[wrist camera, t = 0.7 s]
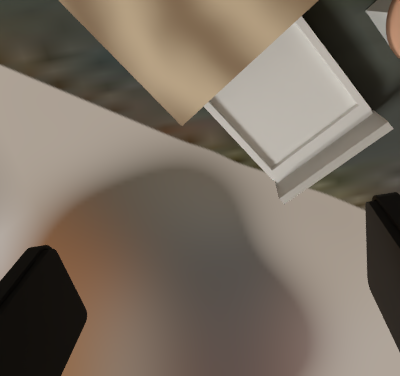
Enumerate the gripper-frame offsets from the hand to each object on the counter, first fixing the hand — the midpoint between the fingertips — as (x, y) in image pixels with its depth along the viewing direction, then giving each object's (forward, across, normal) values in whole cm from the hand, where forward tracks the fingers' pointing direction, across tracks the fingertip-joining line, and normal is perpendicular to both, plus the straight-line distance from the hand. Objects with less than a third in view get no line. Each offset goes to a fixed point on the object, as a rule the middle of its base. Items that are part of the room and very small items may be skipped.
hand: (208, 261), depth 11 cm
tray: (+24, -5, +2) cm, 25 cm away
